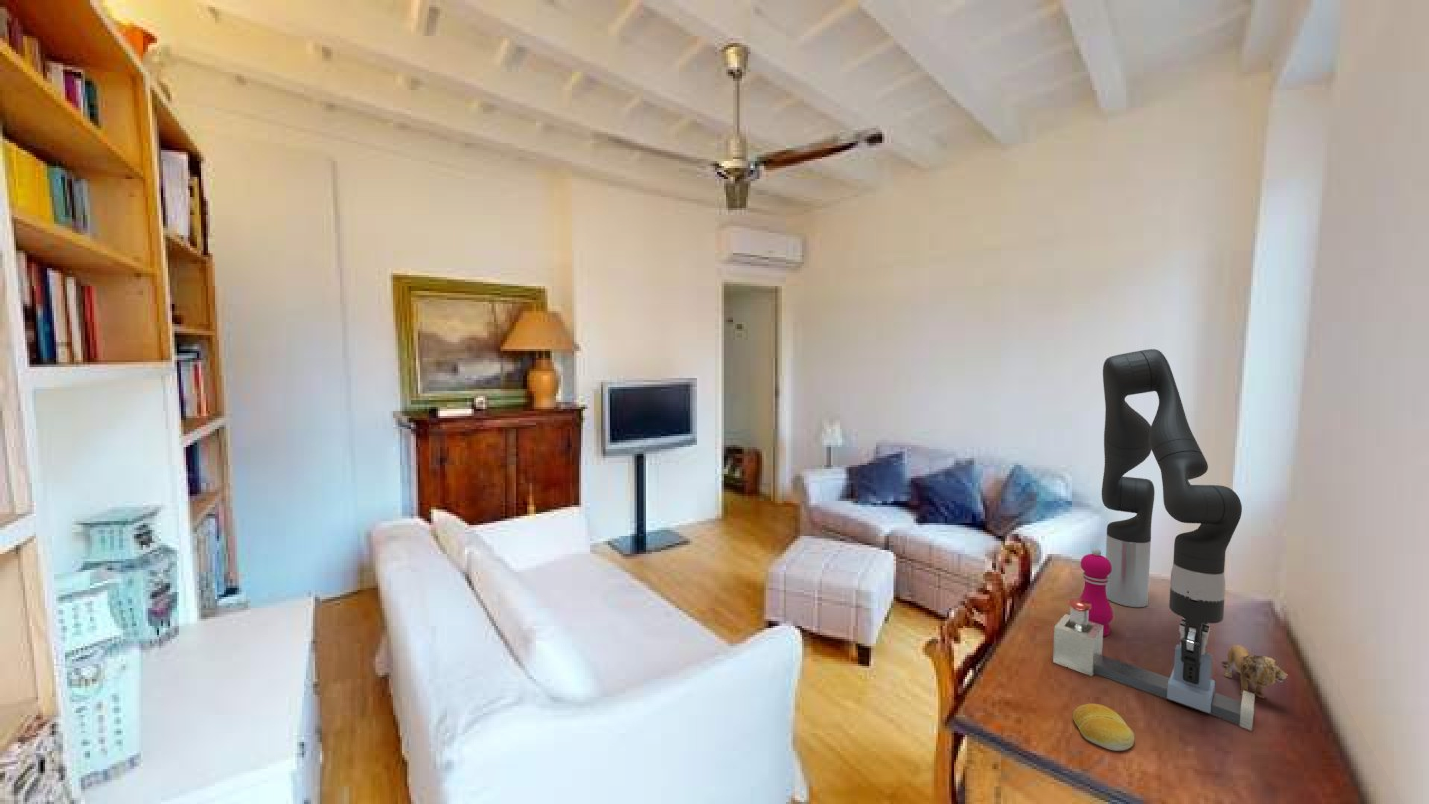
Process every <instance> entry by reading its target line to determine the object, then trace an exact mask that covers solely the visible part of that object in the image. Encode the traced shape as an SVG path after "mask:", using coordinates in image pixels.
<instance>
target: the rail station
mask: <svg viewBox="0 0 1429 804" xmlns="http://www.w3.org/2000/svg"><path fill="white" fill-rule="evenodd" d="M1053 631H1054V633H1053V654H1052V655H1053V657H1052V658H1053V659H1052V660H1053V663H1054V664H1057V665H1059V666H1062V667H1065V668H1067V667H1068V669H1071V670H1073V671H1077V672H1078V673H1079V672H1080V673H1082V674H1084V675H1087V676H1090V677H1093V676H1094V674H1095V675H1097V676H1101V677H1103V678H1105V679H1109V680H1111V681H1115V682H1117V683H1120V684H1122V685H1125V686H1128V687H1131V688H1134V689H1138V690H1140V691H1143V692H1145V693H1148V694H1152V695H1153V694H1155V695H1154V696H1156V697H1159V696H1161V697H1160V698H1162V699H1165V700H1167V699H1168V698H1167V690H1168V682H1169V679H1170V677H1169V676H1166V675H1162V674H1159V673H1156V672H1153V671H1151V670H1147V669H1145V668H1142V667H1139V666H1135V665H1133V664H1129V663H1127V662H1123V661H1120V660H1118V659H1114V658H1111V657H1110V656H1109V657H1108V656H1105V655H1103V643H1104V636H1103V625H1101V624H1097V623H1094V622H1091V621H1088V631H1087V632H1082V631H1078V630H1075V629H1072V628H1070V614H1066V613H1065V614H1064V615H1063V616H1062V617H1061V618H1060V620H1059V621H1058V622H1057V623H1056V624H1055V626H1054V630H1053ZM1255 698H1256V693H1253V692H1250V691H1249V692H1247V691H1244V690H1243V695H1241V700H1238V699H1235V698H1233V697H1230V696H1227V695H1223V694H1221V693H1217V692H1215V693H1214V694H1213V698H1212V702H1211V712H1210V713H1208V714H1207V712H1205V713H1204V714H1207V715H1210V714H1211V715H1210V716H1212V715H1213V717H1215V716H1217V717H1216V718H1218V717H1220V718H1219V719H1221V718H1222V720H1224V719H1226V720H1228V721H1227V722H1229V721H1231V722H1230V723H1232V722H1234V723H1233V724H1235V723H1236V724H1235V725H1238V726H1239V728H1243V729H1245V730H1247V731H1250V732H1251V731H1252V732H1253V724H1254V723H1253V722H1254V715H1255V713H1254V711H1255V702H1256V701H1255V700H1256V699H1255ZM1168 701H1171V702H1174V703H1176V704H1179V705H1181V706H1185V707H1187V706H1188V705H1185V704H1182V703H1179V702H1176V701H1173V700H1171V699H1168ZM1187 708H1191V709H1193V707H1190V706H1188V707H1187ZM1194 710H1196V708H1195V709H1194ZM1198 710H1199V709H1197V710H1196V711H1198ZM1201 711H1202V710H1199V711H1198V712H1201ZM1226 720H1225V721H1226Z"/></svg>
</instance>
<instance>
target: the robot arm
mask: <svg viewBox="0 0 1429 804" xmlns="http://www.w3.org/2000/svg"><path fill="white" fill-rule="evenodd" d="M1102 381H1103V392H1104V404H1105V406H1104V407H1105V411H1104V412H1105V416H1104V429H1103V430H1104V432H1103V433H1104V434H1103V450H1104V451H1103V453H1104V467H1103V478H1102V484H1101V500H1102V504H1103V505H1104V507H1105V508H1106V509H1108V510H1112V511H1116V512H1123V513H1131V514H1132V513H1133V514H1135V515H1134V516H1132V517H1130V518H1127V519H1123V520H1117V521H1112V522H1109V523H1108V524H1107V526H1106V542H1105V543H1106V544H1105V545H1106V546H1105V558H1107V559H1108V560H1109V561H1110V563H1111V566H1112V571H1111V573H1110V574H1109V575H1108V578H1109V580H1108V582H1109V583H1108V584H1106V596H1107V599H1108V601H1111V602H1112V603H1114V604H1118V605H1121V606H1125V607H1130V608H1144V607H1147V606H1148V604H1149V602H1148V601H1149V587H1150V586H1149V584H1150V567H1151V566H1150V563H1151V547H1152V546H1151V543H1152V541H1151V540H1152V520H1153V513H1154V512H1153V510H1154V504H1155V486H1154V483H1153V481H1152V480H1151V479H1147V478H1142V477H1131V476H1124V475H1126V473H1128V472H1130V471H1132V470H1133V469H1134V468H1136V467H1138V466H1139V465H1141V464H1142V463H1143V462H1144V461H1146V459H1148V457H1149V456H1150V454H1151V452H1152V454H1153V455H1154V459H1155V461H1156V463H1157V465H1158V467H1159V469H1160V475H1161V482H1162V484H1161V485H1162V497H1163V500H1162V501H1163V505H1164V509H1165V511H1166V512H1167V513H1168V516H1171V518H1173V519H1174V520H1175V521H1178V522H1180V523H1184V524H1200V525H1199V526H1198V527H1197V529H1194V530H1191V531H1188V532H1187V531H1186V532H1182V533H1179V534H1177V535H1176V537H1175V538H1174V543H1173V544H1174V545H1173V562H1172V568H1171V570H1170V586H1169V601H1168V604H1169V606H1168V607H1169V609H1170V611H1171V612H1172V613H1173V614H1175V615H1177V616H1180V617H1181V621H1180V623H1179V627H1178V629H1179V631H1178V632H1179V633H1180V640H1179V645H1180V648H1181V661H1182V662H1183V663H1184V665H1183V679H1184V680H1185V681H1187V682H1190V683H1193V684H1198V683H1199V672H1200V666H1201V664H1202V662H1201V655H1204V654H1205V653H1206V649H1207V647H1208V639H1209V634H1210V631H1211V626H1210V625H1209V624H1218V623H1222V621H1224V612H1225V596H1226V579H1225V565H1226V551H1227V548H1228V546H1229V545H1230V542H1231V540H1232V538H1233V535H1234V532H1235V531H1236V529H1237V527H1238V525H1239V522H1240V519H1241V517H1242V513H1243V506H1242V502H1241V499H1240V497H1239V495H1238V494H1237V493H1236V491H1234V490H1233V489H1232V488H1230V487H1228V486H1225V485H1218V484H1216V485H1215V484H1191V483H1190V482H1189V480H1193V479H1197V478H1200V477H1202V476H1203V475H1205V474H1207V472H1208V470H1209V464H1208V461H1207V459H1206V457H1205V455H1204V454H1203V452H1202V449H1201V448H1200V446H1199V444H1198V442H1197V440H1196V437H1195V436H1194V434H1193V431H1192V430H1191V427H1190V425H1189V422H1188V419H1187V415H1186V413H1185V410H1184V406H1183V402H1182V399H1181V396H1180V395H1181V394H1180V391H1179V390H1178V386H1177V383H1176V379H1175V377H1174V374H1173V372H1172V369H1171V365H1170V363H1169V361H1168V359H1167V357H1166V356H1165V354H1163V352H1162V351H1160V350H1159V349H1155V348H1150V349H1149V348H1148V349H1143V350H1137V351H1131V352H1126V353H1119V354H1116V355H1112V356H1109V357H1107V358H1106V359H1105V360H1104V362H1103V366H1102ZM1152 392H1156V394H1157V397H1158V406H1157V411H1156V414H1155V415H1154V419H1153V421H1152V423H1151V424H1150V422H1149V421H1148V420H1147V419H1146V418H1145V417H1144V416H1142V415H1141V414H1140V413H1139V412H1138V411H1136V410H1135V409H1134V408H1132V406H1130V405H1129V404H1128V403H1127V401H1126V400H1125V399H1126V397H1128V396H1132V395H1138V394H1140V395H1141V394H1145V393H1152Z"/></svg>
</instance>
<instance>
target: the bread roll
mask: <svg viewBox="0 0 1429 804" xmlns="http://www.w3.org/2000/svg"><path fill="white" fill-rule="evenodd" d="M1072 715H1073V716H1072V717H1073V718H1072V719H1073V721H1074V723H1075V725H1076V726H1077V728H1078V730H1079V731H1080V734H1081V735H1082V736H1083V737H1084V738H1085V740H1087V741H1089V742H1090V743H1092V744H1095V745H1097V746H1098V747H1102V748H1104V749H1107V750H1110V751H1115V752H1116V751H1117V752H1119V751H1120V752H1121V751H1123V752H1124V751H1127V750H1128V749H1130V748H1132V747H1133V745H1134V742H1135V733H1134V732H1133V730H1132V729H1131V728H1130V727H1129V726H1128V725H1127V723H1126V722H1125V720H1124V719H1123V718H1122V717H1121V716H1120V715H1119V713H1117V712H1116V711H1115V710H1114V709H1112V708H1110V707H1107V706H1105V705H1103V704H1098V703H1086V704H1085V703H1084V704H1081V705H1079V706H1077V707H1076V708H1075V709H1074V710H1073V714H1072Z"/></svg>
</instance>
